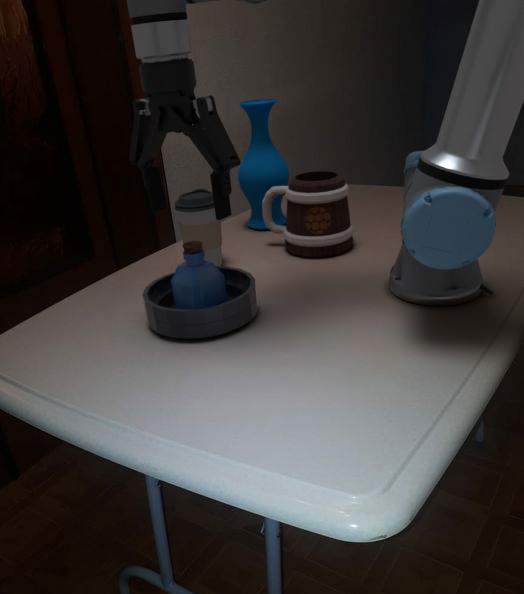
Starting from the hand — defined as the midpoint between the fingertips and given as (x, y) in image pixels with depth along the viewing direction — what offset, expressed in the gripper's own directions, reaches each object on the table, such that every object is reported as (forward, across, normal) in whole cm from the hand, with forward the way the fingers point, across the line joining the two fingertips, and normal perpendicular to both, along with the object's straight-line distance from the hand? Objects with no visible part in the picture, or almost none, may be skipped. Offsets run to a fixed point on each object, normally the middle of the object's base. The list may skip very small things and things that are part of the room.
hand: (190, 213), depth 86 cm
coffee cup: (+18, +16, -19) cm, 31 cm away
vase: (+18, +20, -47) cm, 54 cm away
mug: (+18, +2, -37) cm, 41 cm away
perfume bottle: (+17, 0, 0) cm, 17 cm away
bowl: (+18, 0, 0) cm, 18 cm away
